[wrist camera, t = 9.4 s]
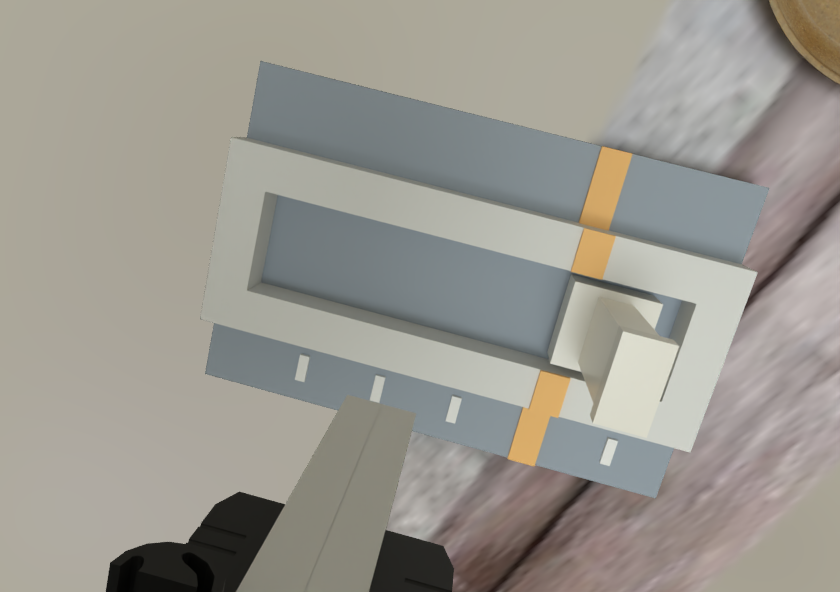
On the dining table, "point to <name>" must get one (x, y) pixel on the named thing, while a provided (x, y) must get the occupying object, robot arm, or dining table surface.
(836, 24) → the plant saucer
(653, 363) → the fader tab
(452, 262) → the console
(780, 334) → the dining table surface
